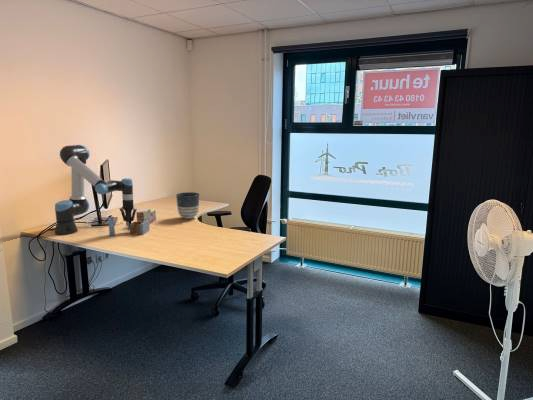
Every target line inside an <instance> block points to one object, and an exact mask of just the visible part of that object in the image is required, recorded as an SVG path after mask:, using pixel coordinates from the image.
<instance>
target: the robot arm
mask: <svg viewBox="0 0 533 400" xmlns="http://www.w3.org/2000/svg"><path fill="white" fill-rule="evenodd" d="M90 155H91V154H90V150H89V149H88V147H86V146H85V145H84V144H83V145H82V144H73V145H66V146H63V147H62V148H61V149H60V151H59V157H60V159H61V161H62V162H63V164H65V165H66V166H68V167H71V171H70V172H71V196H69V199H67V200H61V201H58V202H56V203H55V205H54V210H55V221H56V224H55V228H54V234H55V235H58V236H62V235H72V234H76V233H78V232H79V231H78V226H77V225H76V222H75V217H76V216H80V215H83V214H85V213H87V212H88V210H89V209H90V202H89V201H88V199H87V197H86V196H85V180H86V181H87V182H88V183H89V184H91V185H92V186H93V188H94V191H95V192H96V193H97V194H98V195H106V194H109V193H113V192H121V194H122V195H121V197H122V206H121V207H120V208H119V211H120V214H121V216H122V220H123V221H124V222H126V223H125V225H126V227H127V231H130V229H129V225H130V224H131V223H132V222H134V220H135V216H136V212H137V210H138V208H136V207H135V206H134V191H133V190H134V187H133V186H134V184H133V179H132V178H122V179H121V180H113V179H111V180H108V181H107V182H106V181H105V180H103V179H102V177H100V176H99V175H98V174H97V173H96V172H94V171H93V170H92V169H91V168H90V167H89V166H87V165H86V164H87V160H88V159H89V158H90Z"/></svg>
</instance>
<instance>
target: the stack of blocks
mask: <svg viewBox="0 0 533 400" xmlns="http://www.w3.org/2000/svg"><path fill="white" fill-rule="evenodd" d="M135 215H136V222H144V221H146V220H149V225H151V224H152V223H154V222H156V221H157V214H156V210H155V209H151V208H142V209H140V210H138V211H136V213H135Z"/></svg>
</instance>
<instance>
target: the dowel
mask: <svg viewBox="0 0 533 400" xmlns="http://www.w3.org/2000/svg"><path fill="white" fill-rule="evenodd" d="M107 218H108V230H109V231H108V232H109V237H114V236H116V231H115V218H114V216H108V217H107Z"/></svg>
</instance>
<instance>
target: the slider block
mask: <svg viewBox="0 0 533 400" xmlns="http://www.w3.org/2000/svg"><path fill="white" fill-rule="evenodd" d="M141 223H143V222H137V221H132V222H131V224H130V225H129V229H130V230H129V234H130V235H141V231H140V224H141Z"/></svg>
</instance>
